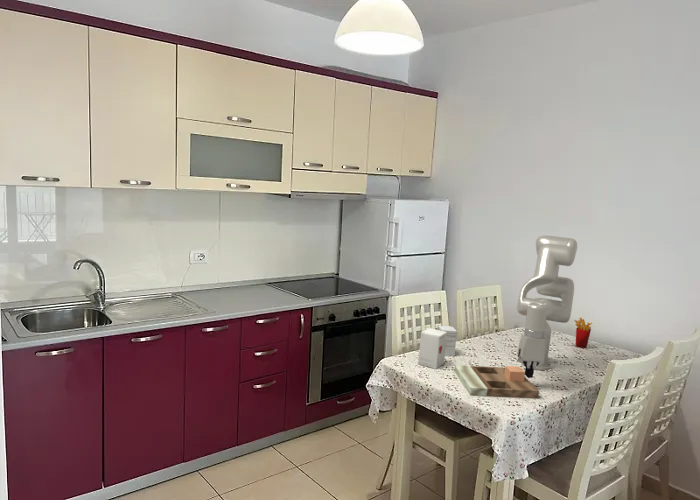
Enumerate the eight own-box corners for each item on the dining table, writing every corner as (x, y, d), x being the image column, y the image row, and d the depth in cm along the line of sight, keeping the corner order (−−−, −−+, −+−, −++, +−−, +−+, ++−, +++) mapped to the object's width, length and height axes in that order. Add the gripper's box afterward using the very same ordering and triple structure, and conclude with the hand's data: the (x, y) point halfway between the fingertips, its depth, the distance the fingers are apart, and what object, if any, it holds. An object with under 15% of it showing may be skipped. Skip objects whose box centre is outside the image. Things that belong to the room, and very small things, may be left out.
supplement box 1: (436, 369, 224) (439, 336, 222) (417, 364, 229) (420, 331, 227) (444, 364, 232) (447, 331, 230) (425, 359, 237) (428, 327, 235)
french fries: (589, 346, 274) (593, 319, 272) (586, 350, 267) (590, 322, 265) (571, 342, 278) (575, 315, 276) (568, 346, 272) (572, 318, 269)
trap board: (515, 374, 225) (516, 368, 224) (538, 398, 201) (539, 391, 201) (454, 371, 223) (454, 365, 223) (470, 395, 199) (470, 387, 199)
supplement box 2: (435, 350, 249) (437, 325, 247) (450, 351, 250) (453, 326, 248) (439, 356, 242) (441, 330, 240) (454, 356, 243) (457, 330, 241)
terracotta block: (518, 375, 215) (519, 366, 215) (523, 381, 209) (525, 372, 209) (504, 375, 215) (505, 366, 214) (509, 380, 209) (510, 371, 209)
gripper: (547, 331, 214) (542, 374, 217) (512, 329, 213) (507, 372, 216) (556, 337, 207) (550, 381, 209) (519, 335, 206) (514, 379, 208)
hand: (528, 376), depth 212 cm, fingers closed
